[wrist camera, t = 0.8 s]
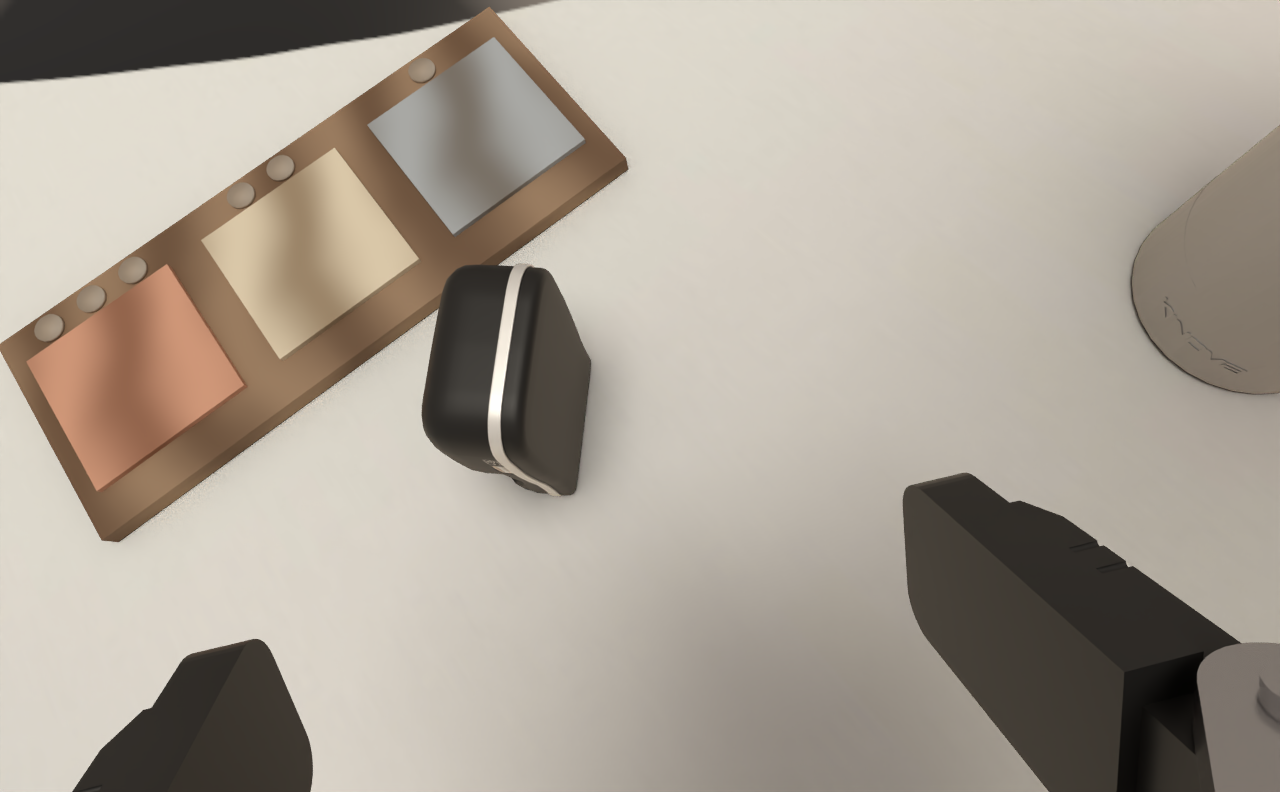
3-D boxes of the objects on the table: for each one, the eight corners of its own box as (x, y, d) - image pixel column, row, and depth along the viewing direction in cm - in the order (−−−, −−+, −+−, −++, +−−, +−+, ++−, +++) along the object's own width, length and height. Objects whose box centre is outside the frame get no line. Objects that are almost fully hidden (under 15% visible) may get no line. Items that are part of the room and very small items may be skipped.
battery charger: (515, 349, 36) (432, 239, 25) (594, 354, 36) (545, 244, 25) (493, 494, 34) (394, 445, 23) (576, 502, 34) (515, 455, 23)
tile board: (494, 20, 41) (487, 2, 40) (628, 169, 38) (625, 154, 37) (15, 352, 38) (-9, 343, 37) (118, 542, 35) (96, 539, 34)
